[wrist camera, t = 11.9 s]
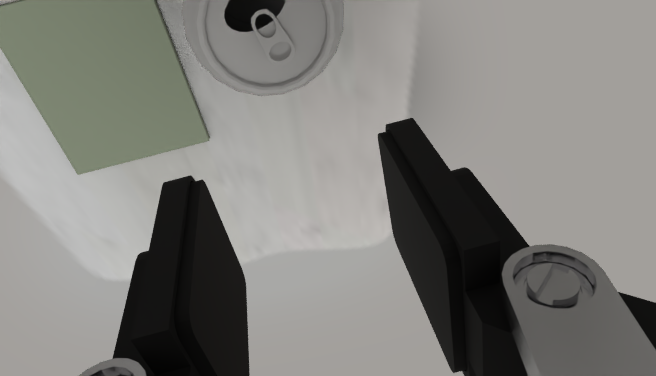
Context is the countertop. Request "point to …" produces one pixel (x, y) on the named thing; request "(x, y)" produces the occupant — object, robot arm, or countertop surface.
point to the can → (263, 41)
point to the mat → (102, 78)
